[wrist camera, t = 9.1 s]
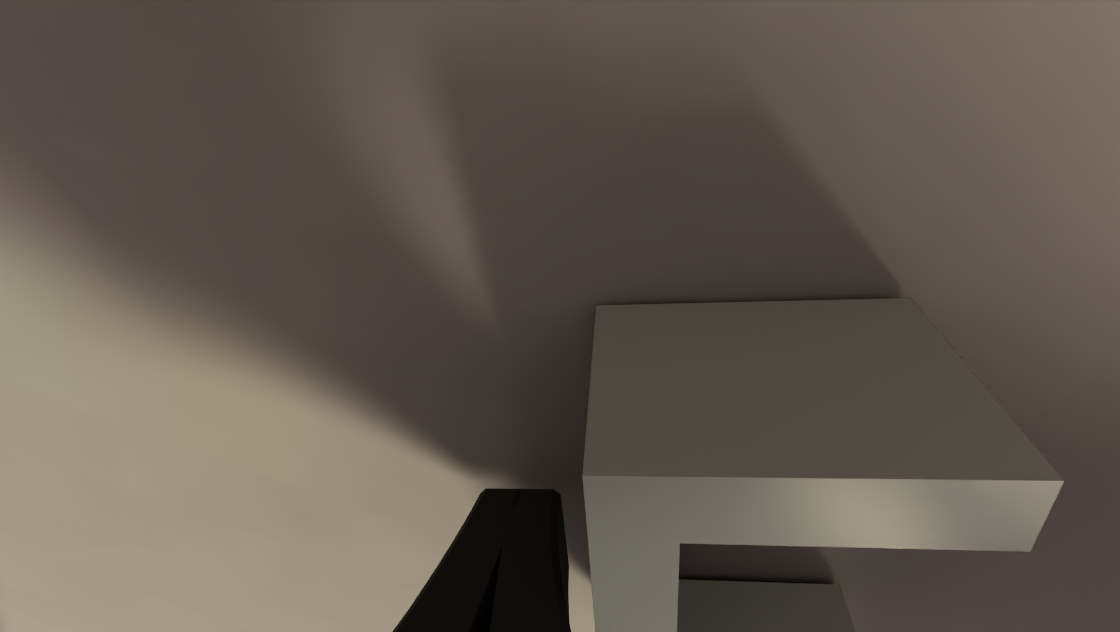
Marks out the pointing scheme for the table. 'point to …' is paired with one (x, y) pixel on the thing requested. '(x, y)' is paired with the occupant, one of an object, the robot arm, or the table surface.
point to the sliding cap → (787, 454)
